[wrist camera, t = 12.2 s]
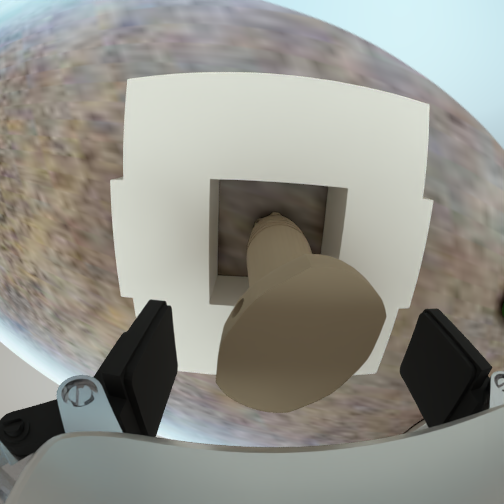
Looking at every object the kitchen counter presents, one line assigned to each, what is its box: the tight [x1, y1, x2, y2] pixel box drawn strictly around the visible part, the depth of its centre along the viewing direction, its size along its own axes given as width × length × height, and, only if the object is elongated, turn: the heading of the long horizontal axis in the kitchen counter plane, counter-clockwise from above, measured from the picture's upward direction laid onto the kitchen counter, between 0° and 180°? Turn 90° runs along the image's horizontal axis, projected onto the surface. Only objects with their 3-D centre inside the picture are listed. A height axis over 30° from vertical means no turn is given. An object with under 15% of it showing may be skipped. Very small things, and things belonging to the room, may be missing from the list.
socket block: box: [110, 72, 433, 375], centre depth 21 cm, size 22×22×5 cm
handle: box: [216, 212, 387, 413], centre depth 16 cm, size 5×6×15 cm
